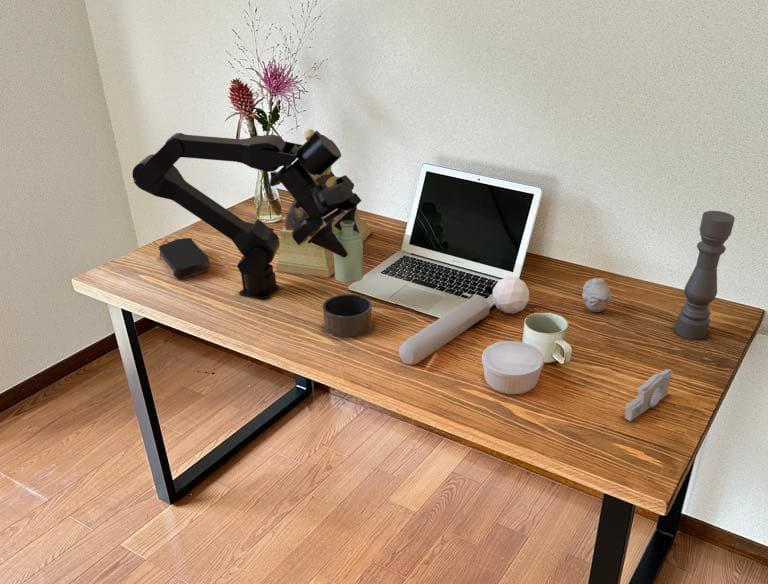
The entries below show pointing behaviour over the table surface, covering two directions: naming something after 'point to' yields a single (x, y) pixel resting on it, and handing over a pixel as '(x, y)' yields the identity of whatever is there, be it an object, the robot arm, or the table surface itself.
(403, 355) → the tube
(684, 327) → the candle holder
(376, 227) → the table surface
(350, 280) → the bottle
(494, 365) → the ramekin
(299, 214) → the decorative clock
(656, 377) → the garden wall model
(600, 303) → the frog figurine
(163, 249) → the black sponge
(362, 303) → the cup
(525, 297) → the ball
